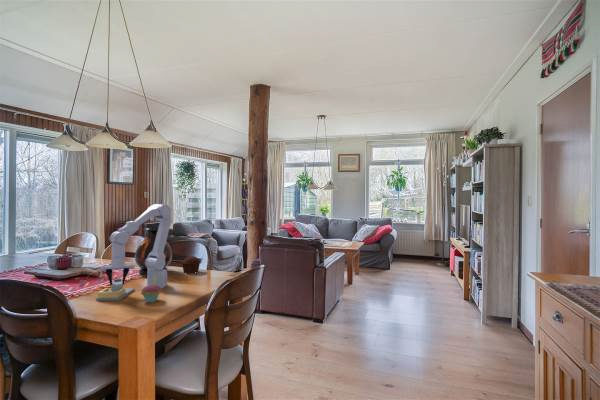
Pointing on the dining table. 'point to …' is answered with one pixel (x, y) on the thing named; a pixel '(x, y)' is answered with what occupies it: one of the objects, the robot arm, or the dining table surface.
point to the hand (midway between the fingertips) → (117, 284)
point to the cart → (116, 285)
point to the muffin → (191, 264)
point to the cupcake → (151, 292)
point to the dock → (113, 294)
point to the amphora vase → (147, 247)
